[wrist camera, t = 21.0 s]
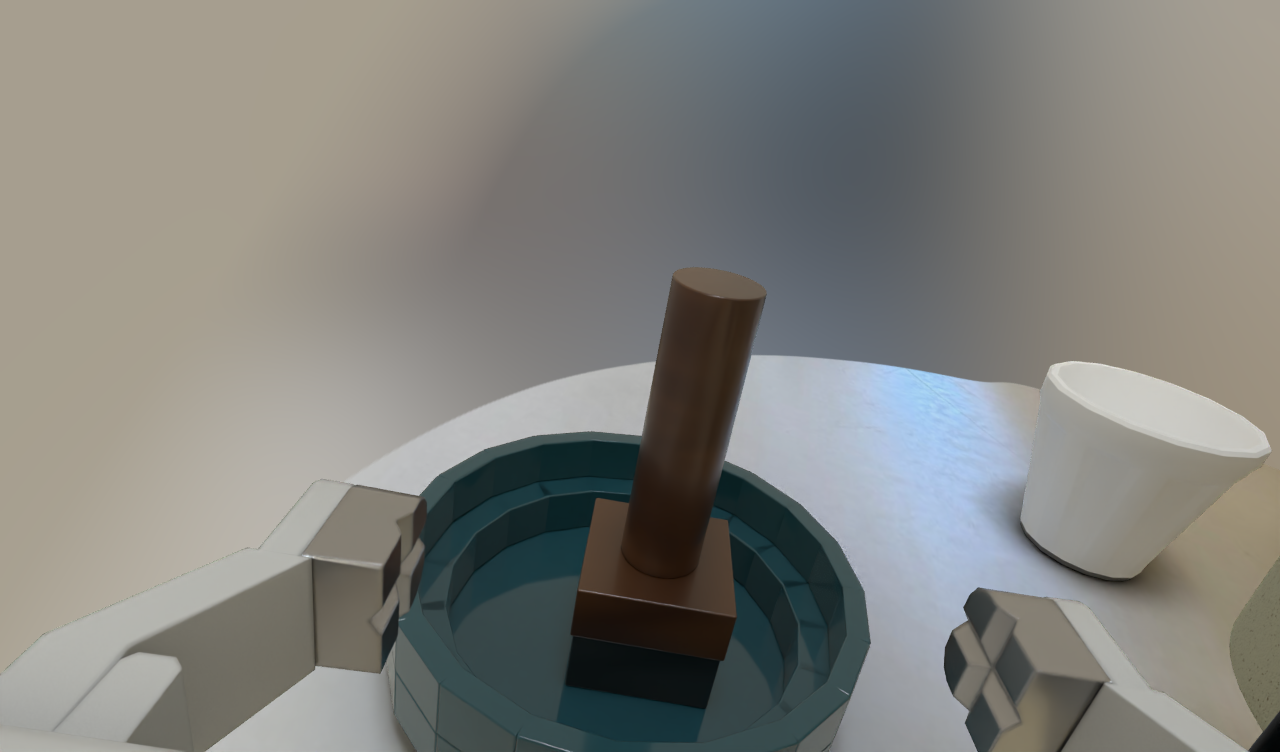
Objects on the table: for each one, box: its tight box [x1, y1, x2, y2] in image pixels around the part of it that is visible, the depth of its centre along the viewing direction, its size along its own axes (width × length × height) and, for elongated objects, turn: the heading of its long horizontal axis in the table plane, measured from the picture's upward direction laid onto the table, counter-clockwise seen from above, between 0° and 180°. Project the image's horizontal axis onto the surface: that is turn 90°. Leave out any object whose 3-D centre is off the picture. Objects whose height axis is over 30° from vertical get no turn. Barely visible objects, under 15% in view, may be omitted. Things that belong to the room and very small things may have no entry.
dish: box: [386, 431, 871, 752], centre depth 26 cm, size 17×17×5 cm
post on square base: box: [565, 267, 767, 708], centre depth 24 cm, size 5×5×14 cm
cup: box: [1020, 361, 1272, 581], centre depth 38 cm, size 10×10×9 cm
